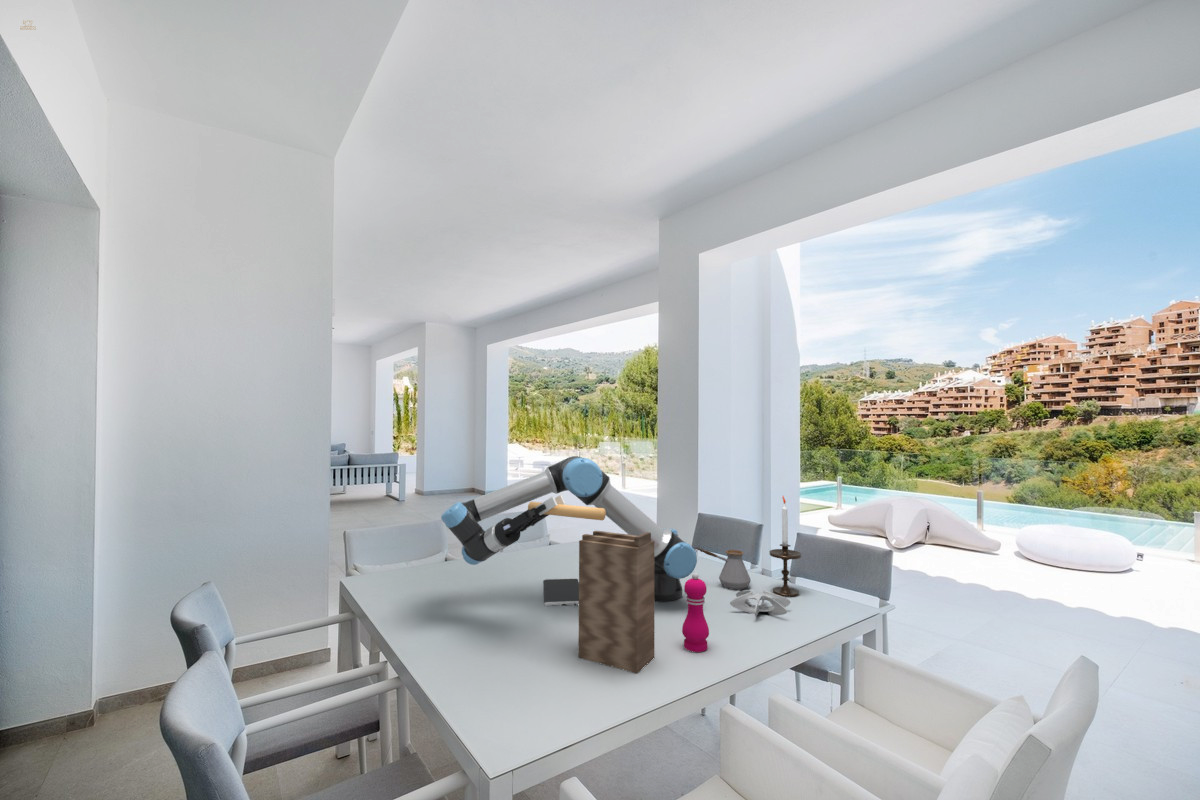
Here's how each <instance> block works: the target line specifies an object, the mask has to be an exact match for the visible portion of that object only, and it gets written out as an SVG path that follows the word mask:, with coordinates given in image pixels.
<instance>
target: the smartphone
mask: <svg viewBox="0 0 1200 800" xmlns="http://www.w3.org/2000/svg"><path fill="white" fill-rule="evenodd" d="M542 583H543V605H545V606H544V607H553V606H552V605H562V606H563V605H565V606H579V605H578V604H579V578H576V577H575V578H550V579H549V578H546V579H543V581H542Z"/></svg>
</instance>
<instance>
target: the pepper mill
mask: <svg viewBox="0 0 1200 800" xmlns="http://www.w3.org/2000/svg"><path fill="white" fill-rule="evenodd" d="M691 577H692V578H689V579H688V580H686V581H685V583H684V586H683V587H684V593H685V594H686V596H685V599H686V602H685V603H687V613H686V616H685V619H684V621H683V623H682V628H681V632H682V635H683V637H684V640H683V647H685V648H686V649H687V651H688V650H689V652H692V651H693V652H692V653H703V652H705V650H706V651H707V650H708V640H706V639H708V638H709V635H710V630H709V629H710V628H709V624H708V622H707V620H706V618H705V615H704V614H705V613H704V604H705V603H706V601H705V597H704V596H705V595H706V594H707V584H706V583H705V581H704V580H702V579H701V578H699V574H698V573H697V572H692V573H691ZM685 648H684V649H685ZM686 649H685V650H686ZM702 651H703V652H702Z"/></svg>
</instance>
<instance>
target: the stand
mask: <svg viewBox="0 0 1200 800" xmlns="http://www.w3.org/2000/svg"><path fill="white" fill-rule="evenodd" d="M581 537H582V538H581V540H579V541H578V543H579V544H578V557H579V558H578V582H579V605H578V657H579V659H582V658H583V659H582V660H585V661H589V660H590V662H593V661H594V663H597V662H598V663H597V664H600V663H601V664H600V665H604V664H605V666H608V665H609V666H608V667H611V666H613V668H615V667H616V668H615V669H618V670H622V669H624V671H626V670H627V671H626V672H629V671H631V672H630V673H633V672H634V674H638V673H639V672H641V671H642V670H643V669H644V668H645V667H646V666H647V665H648V664H649V663H651V662H652V661H653V660H654V659H655V600H654V541H651V533H649V532H646V533H644V534H641V535H639V536H636V535H628V534H627V533H626V534H625V533H619V532H611V531H610V532H609V531H602V530H594V531H592V534H588V533H585V534H582V536H581ZM653 658H654V659H653ZM652 659H653V660H652ZM651 660H652V661H651ZM650 661H651V662H650ZM647 663H648V664H647ZM645 665H646V666H645ZM644 666H645V667H644ZM643 667H644V668H643ZM642 668H643V669H642ZM641 669H642V670H641Z"/></svg>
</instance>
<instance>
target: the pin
mask: <svg viewBox="0 0 1200 800" xmlns="http://www.w3.org/2000/svg"><path fill="white" fill-rule="evenodd" d="M541 503H542V502H541V501H540V502H539V501H529V502H528V505H527V510H529V509H530V510H531V509H532V508H536V506H538V505H540V504H541ZM544 514H547V515H548V516H557V517H565V518H566V517H569V518H576V519H585V520H595V521H604V520H605V519H606V517H607V516H606V511H605V509H604V508H597V507H595V506H584V505H583V506H582V505H573V504H572V505H571V504H564V505H563V504H557V506H555V507H554V508H552V509H550V510H549V511H547V512H546V513H544Z"/></svg>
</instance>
